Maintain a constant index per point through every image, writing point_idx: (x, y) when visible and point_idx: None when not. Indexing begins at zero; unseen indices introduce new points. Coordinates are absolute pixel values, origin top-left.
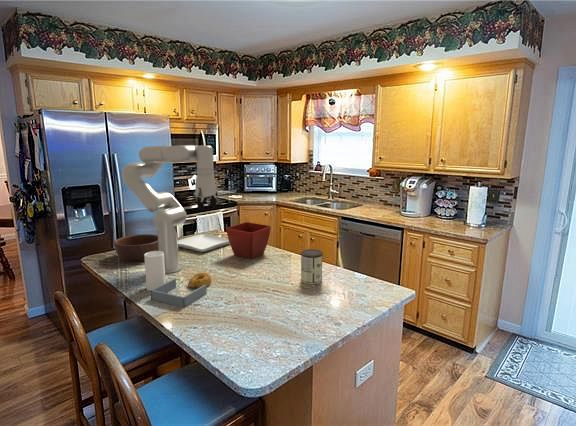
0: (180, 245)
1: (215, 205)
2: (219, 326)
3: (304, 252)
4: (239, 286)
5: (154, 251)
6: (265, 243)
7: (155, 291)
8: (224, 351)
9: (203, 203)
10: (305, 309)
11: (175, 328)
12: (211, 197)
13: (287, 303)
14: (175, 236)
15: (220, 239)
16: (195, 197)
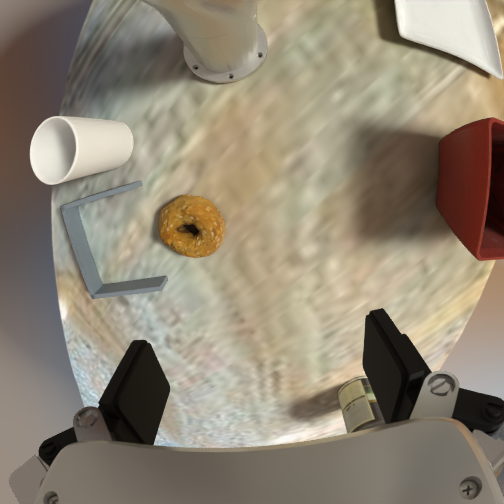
0: None
1: (369, 375)
2: (115, 370)
3: (369, 428)
4: (250, 313)
5: (66, 121)
6: (495, 229)
7: (65, 221)
8: (96, 395)
9: (148, 440)
10: (240, 427)
11: (67, 325)
12: (419, 402)
13: (241, 408)
14: (219, 27)
15: (489, 38)
16: (40, 458)
